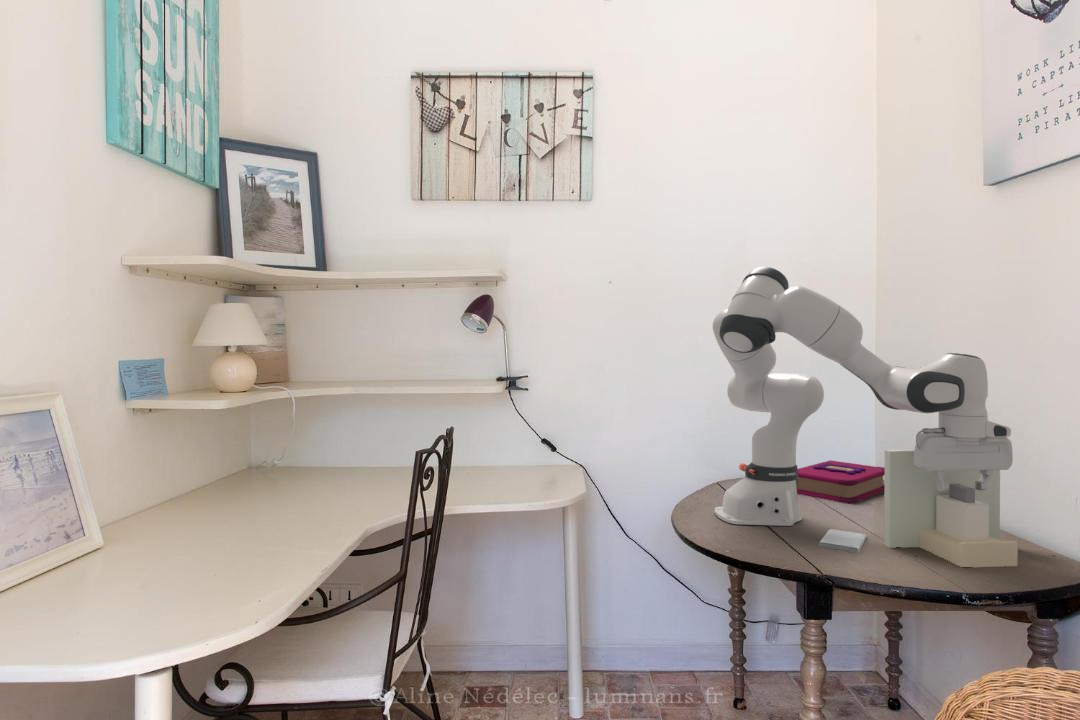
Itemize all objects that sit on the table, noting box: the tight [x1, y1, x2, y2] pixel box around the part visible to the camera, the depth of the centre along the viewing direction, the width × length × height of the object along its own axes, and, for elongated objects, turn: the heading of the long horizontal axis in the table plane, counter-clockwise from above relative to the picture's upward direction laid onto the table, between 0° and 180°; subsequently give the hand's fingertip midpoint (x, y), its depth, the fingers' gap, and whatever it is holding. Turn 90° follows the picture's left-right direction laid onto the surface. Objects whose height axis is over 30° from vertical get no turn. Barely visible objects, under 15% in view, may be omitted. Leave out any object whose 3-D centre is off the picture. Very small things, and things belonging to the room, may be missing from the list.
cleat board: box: [883, 448, 1019, 568], centre depth 134 cm, size 26×15×22 cm, turn 93°
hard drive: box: [818, 528, 867, 554], centre depth 143 cm, size 2×8×12 cm
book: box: [796, 459, 885, 505], centre depth 193 cm, size 21×28×8 cm
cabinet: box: [936, 484, 989, 542], centre depth 134 cm, size 5×9×11 cm, turn 3°
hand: (961, 490), depth 134 cm, fingers open, 7 cm apart
